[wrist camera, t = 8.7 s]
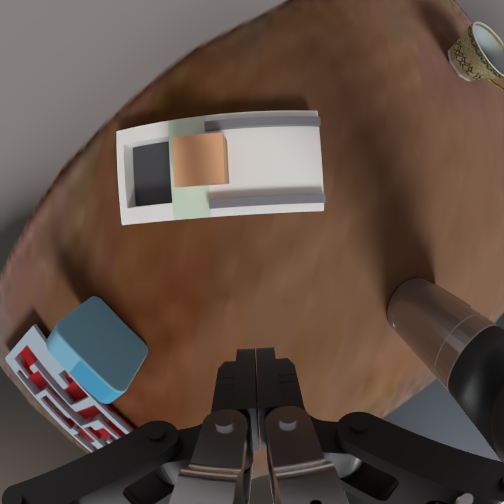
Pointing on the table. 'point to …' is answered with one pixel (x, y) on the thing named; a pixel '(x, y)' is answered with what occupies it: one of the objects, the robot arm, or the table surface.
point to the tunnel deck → (239, 163)
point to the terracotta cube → (200, 160)
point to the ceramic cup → (478, 54)
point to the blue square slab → (97, 349)
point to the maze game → (64, 394)
